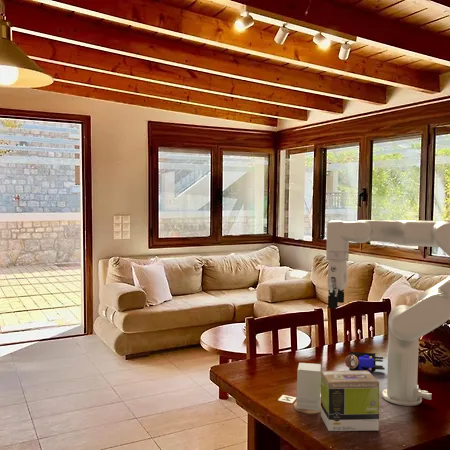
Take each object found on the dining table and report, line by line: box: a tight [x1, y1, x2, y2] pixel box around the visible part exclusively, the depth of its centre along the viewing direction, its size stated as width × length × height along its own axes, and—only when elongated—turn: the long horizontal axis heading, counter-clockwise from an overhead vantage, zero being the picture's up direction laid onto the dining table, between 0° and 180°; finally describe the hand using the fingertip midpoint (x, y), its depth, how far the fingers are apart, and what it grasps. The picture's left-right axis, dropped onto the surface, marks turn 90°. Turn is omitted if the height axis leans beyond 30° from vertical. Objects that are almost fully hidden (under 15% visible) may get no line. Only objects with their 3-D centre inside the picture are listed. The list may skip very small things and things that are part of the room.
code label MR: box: [277, 394, 297, 404], centre depth 160 cm, size 5×5×1 cm
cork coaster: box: [293, 401, 321, 415], centre depth 154 cm, size 9×9×1 cm
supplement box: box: [296, 362, 322, 411], centre depth 154 cm, size 7×7×13 cm
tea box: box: [320, 370, 380, 432], centre depth 142 cm, size 15×10×15 cm, turn 92°
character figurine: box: [344, 351, 386, 372], centre depth 188 cm, size 8×7×15 cm
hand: (336, 305), depth 167 cm, fingers open, 9 cm apart
